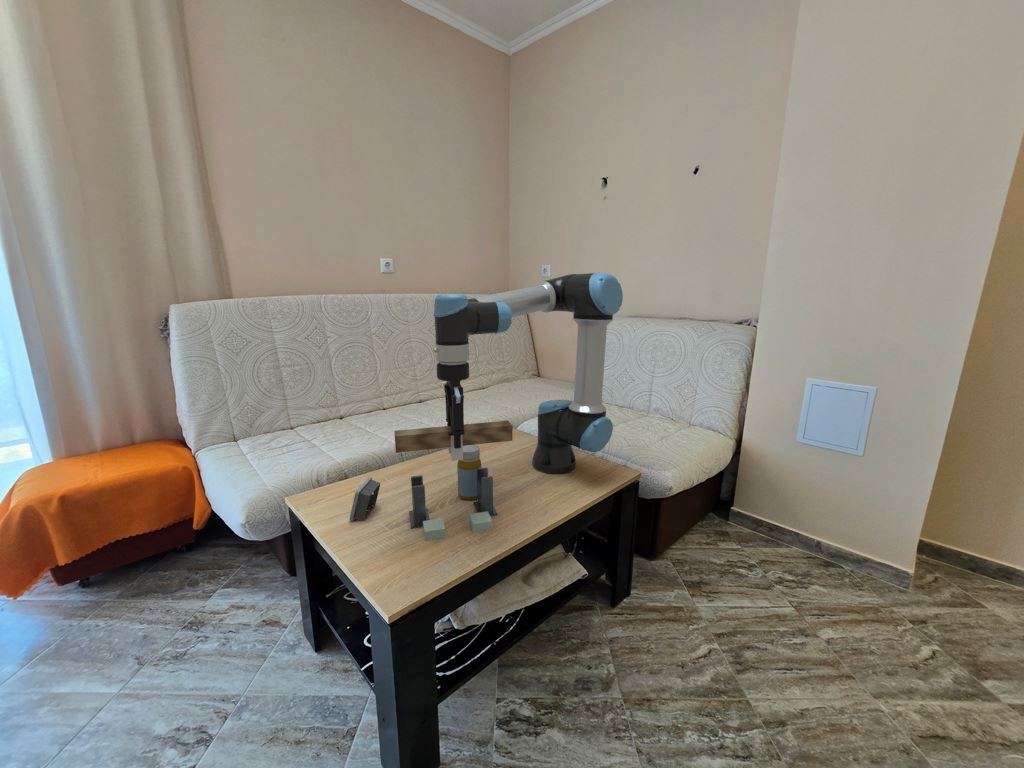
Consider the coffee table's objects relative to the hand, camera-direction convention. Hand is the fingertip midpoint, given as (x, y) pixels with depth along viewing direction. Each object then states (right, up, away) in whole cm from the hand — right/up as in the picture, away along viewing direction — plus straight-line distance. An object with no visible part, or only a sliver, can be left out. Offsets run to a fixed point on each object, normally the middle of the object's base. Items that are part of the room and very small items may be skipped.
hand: (455, 455), depth 102 cm
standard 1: (-11, -19, +9) cm, 24 cm away
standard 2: (+6, -17, +15) cm, 24 cm away
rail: (0, +3, -1) cm, 3 cm away
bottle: (+1, -16, +23) cm, 28 cm away
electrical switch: (-26, -18, +13) cm, 34 cm away
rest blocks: (0, -20, +5) cm, 20 cm away
